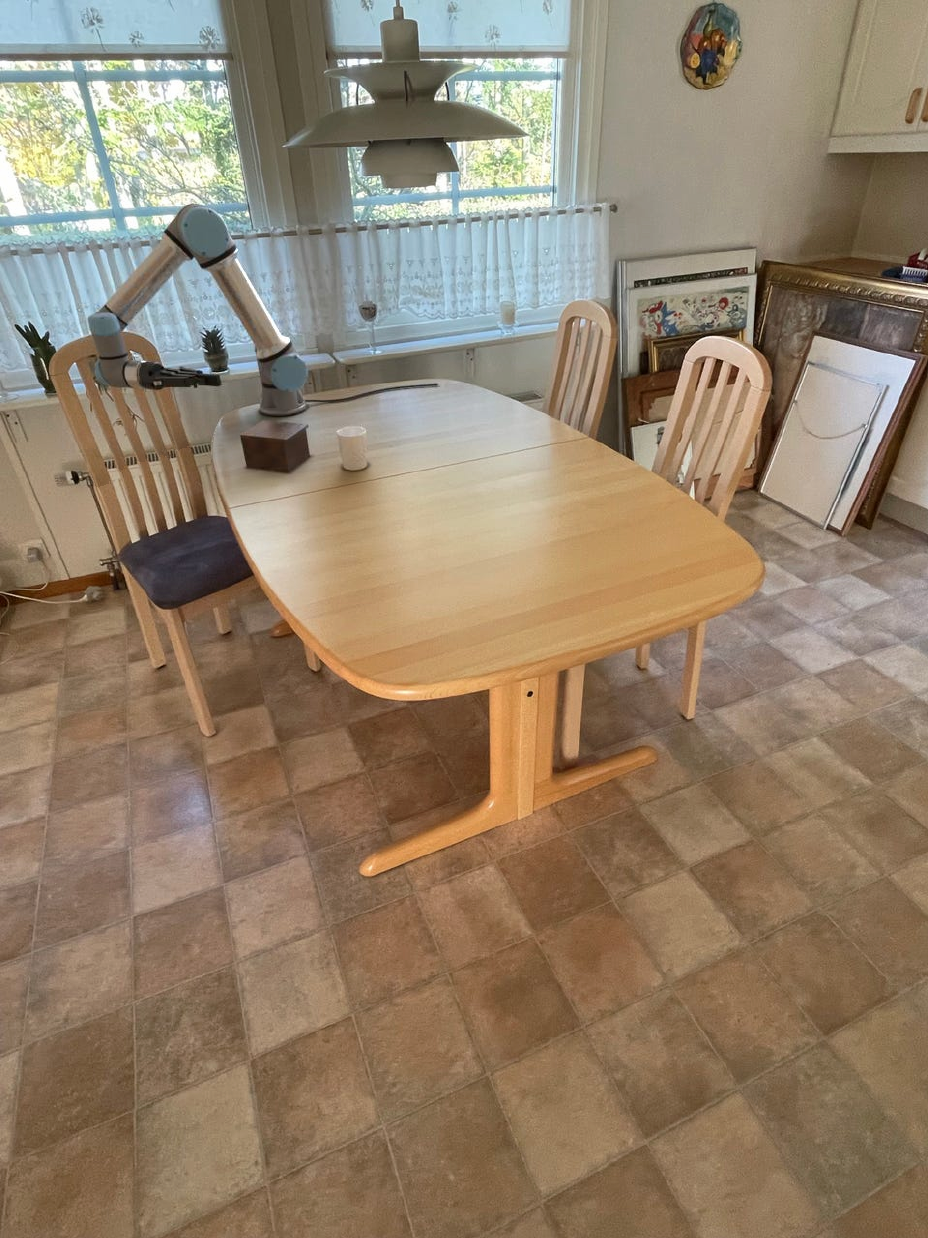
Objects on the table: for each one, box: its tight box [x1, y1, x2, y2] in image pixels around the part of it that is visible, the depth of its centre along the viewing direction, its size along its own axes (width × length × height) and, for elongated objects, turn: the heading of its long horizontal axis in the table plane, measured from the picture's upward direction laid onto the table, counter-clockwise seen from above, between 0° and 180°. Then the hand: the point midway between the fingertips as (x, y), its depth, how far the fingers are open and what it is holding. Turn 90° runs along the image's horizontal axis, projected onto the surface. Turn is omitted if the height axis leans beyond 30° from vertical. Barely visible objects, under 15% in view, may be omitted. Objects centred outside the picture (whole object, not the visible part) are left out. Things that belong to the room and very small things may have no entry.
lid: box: [239, 419, 309, 442], centre depth 193 cm, size 14×12×1 cm
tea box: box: [240, 428, 311, 473], centre depth 196 cm, size 13×12×9 cm
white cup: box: [336, 425, 368, 471], centre depth 192 cm, size 8×8×10 cm
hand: (218, 380), depth 189 cm, fingers closed
